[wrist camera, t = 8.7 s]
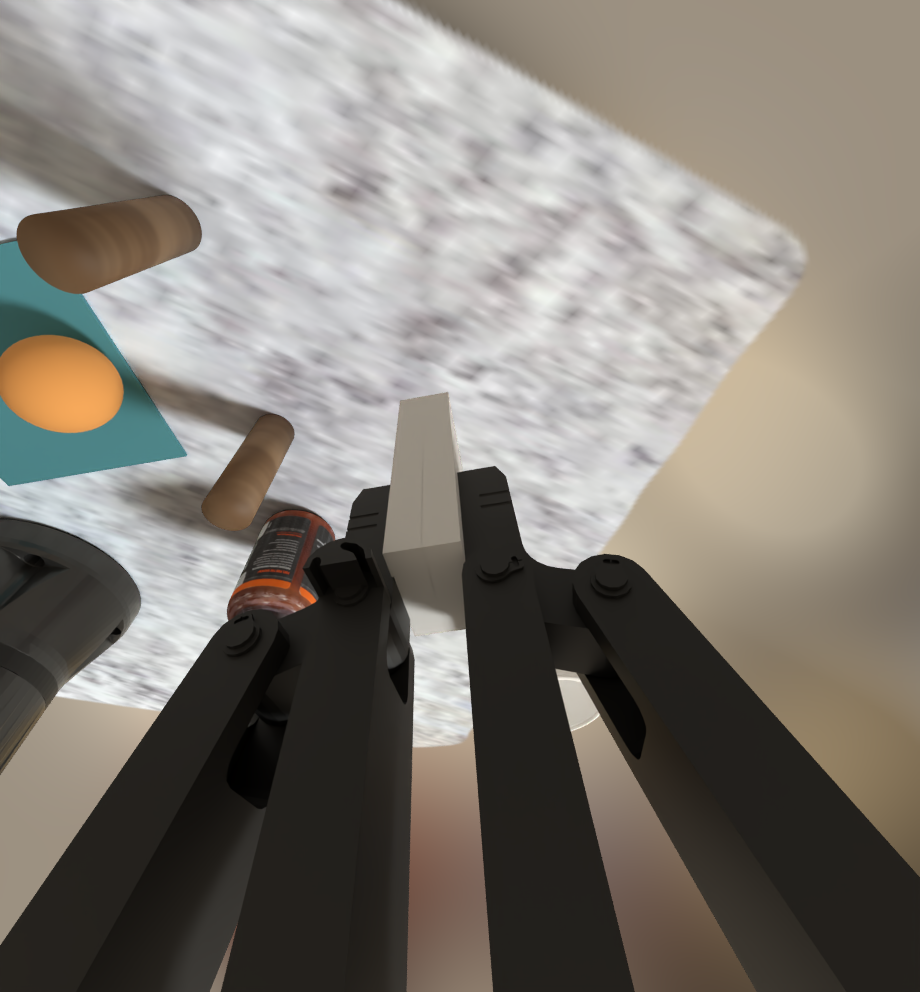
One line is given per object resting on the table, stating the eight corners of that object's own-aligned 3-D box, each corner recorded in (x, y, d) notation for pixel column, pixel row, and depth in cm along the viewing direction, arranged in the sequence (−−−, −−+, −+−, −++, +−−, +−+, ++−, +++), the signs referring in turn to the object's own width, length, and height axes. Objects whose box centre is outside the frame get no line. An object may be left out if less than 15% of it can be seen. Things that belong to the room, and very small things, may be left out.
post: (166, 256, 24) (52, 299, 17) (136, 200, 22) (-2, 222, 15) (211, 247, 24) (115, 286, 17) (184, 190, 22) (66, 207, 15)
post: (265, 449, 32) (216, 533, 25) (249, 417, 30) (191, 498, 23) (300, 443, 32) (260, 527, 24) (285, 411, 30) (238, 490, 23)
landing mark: (10, 484, 33) (8, 486, 32) (-191, 284, 24) (-196, 285, 24) (187, 454, 32) (185, 456, 32) (43, 235, 23) (40, 235, 23)
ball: (152, 418, 27) (133, 398, 30) (92, 326, 23) (77, 316, 27) (48, 461, 24) (40, 434, 27) (-37, 365, 21) (-35, 349, 24)
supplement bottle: (248, 520, 36) (186, 641, 27) (309, 496, 35) (265, 614, 26) (293, 565, 39) (251, 686, 30) (350, 545, 38) (324, 664, 29)
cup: (508, 641, 48) (524, 748, 39) (454, 596, 43) (458, 707, 34) (590, 604, 45) (627, 712, 36) (541, 551, 39) (571, 662, 31)
